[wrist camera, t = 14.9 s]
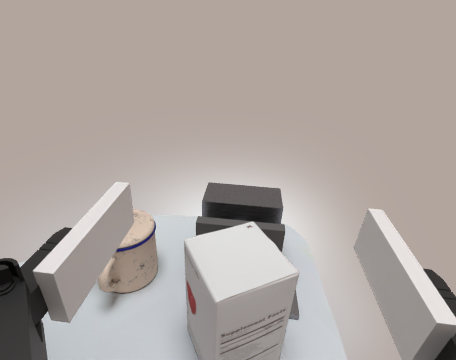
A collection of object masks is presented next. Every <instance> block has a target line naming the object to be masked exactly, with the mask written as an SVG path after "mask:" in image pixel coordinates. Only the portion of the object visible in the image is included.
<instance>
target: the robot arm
mask: <svg viewBox="0 0 456 360" xmlns="http://www.w3.org/2000/svg"><path fill="white" fill-rule="evenodd" d="M133 224H134V215H133V207H132V199H131V191H130V183H125V182H116V183H115V184H114V185H113V186H112V187H111V188H110V189H109V190H108V191H107V192H106V193H105V194H104V195H103V196H102V198H101V199H100V200H99V201H98V202H97V203H96V204H95V205H94V206H93V207H92V208H91V209H90V211H88V213H87V214H86V215H85V216H84V217H83V218H82V219H81V220H80V221H79V222H78V223H77V224H76V226H74V228H66V227H65V228H63V229H62V230H60V231H58V232H56V233H55V234H53V235H52V237H51V238H49V239H48V240H47V241H46V244H43V245H42V247H40V249H39V250H37V252H35V253H34V254H33V255H32V256H31V257H30V258H29V259H28V260H27V261H26V262H25V263H24V264H23V265H22V266H21V267H19V264H18V262H17V261H16V260H14V259H12V258H3V259H0V360H48V359H47V351H46V343H45V335H44V328H43V323H42V320H41V319H42V318H43V317H44V315H45V314H46V313H47V311H48V313H49V315H50V318H51V320H53V321H61V322H68V323H70V321H71V320H72V318H73V317H74V315H75V314H76V312H77V310H78V309H79V307H80V306H81V304H82V303H83V301H84V300H85V298H86V297H87V295H88V293H89V292H90V290H91V289H92V287H93V286H94V284H95V283H96V281H97V279H98V278H99V276H100V275H101V273H102V272H103V270H104V269H105V267H106V266H107V264H108V262H109V261H110V259H111V258H112V256H113V255H114V253H115V252H116V250H117V249H118V247H119V245H120V244H121V242H122V241H123V239H124V238H125V236H126V235H127V233H128V231H129V230H130V228H131V227H132V225H133ZM354 249H355V252H356V254H357V256H358V259H359V261H360V263H361V266H362V268H363V270H364V273H365V275H366V277H367V280H368V282H369V284H370V287H371V289H372V291H373V293H374V296H375V298H376V301H377V303H378V305H379V308H380V310H381V312H382V315H383V317H384V319H385V321H386V324H387V326H388V328H389V331H390V333H391V335H392V338H393V340H394V342H395V345H396V347H397V349H398V352H399V354H400V356H401V359H402V360H456V297H455V295H454V294H453V292H451V290H450V288H449V287H448V286H447V284H446V283H445V281H444V280H443V279H442V278H441V277H440V276H438V275H437V274H436V273H435V272H434V271H432V270H429V269H422V267H421V266H420V264H419V263H418V262H417V260H416V258H415V257H414V255H413V254H412V252H411V251H410V249H409V248H408V246H407V245H406V244H405V242H404V241H403V239H402V238H401V236H400V235H399V233H398V232H397V230H396V229H395V228H394V226H393V224H392V223H391V221H390V220H389V219H388V217H387V216H386V214H385V213H384V211H383V210H378V209H368V210H367V213H366V215H365V218H364V221H363V224H362V227H361V229H360V232H359V235H358V237H357V240H356V243H355V245H354Z"/></svg>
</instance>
